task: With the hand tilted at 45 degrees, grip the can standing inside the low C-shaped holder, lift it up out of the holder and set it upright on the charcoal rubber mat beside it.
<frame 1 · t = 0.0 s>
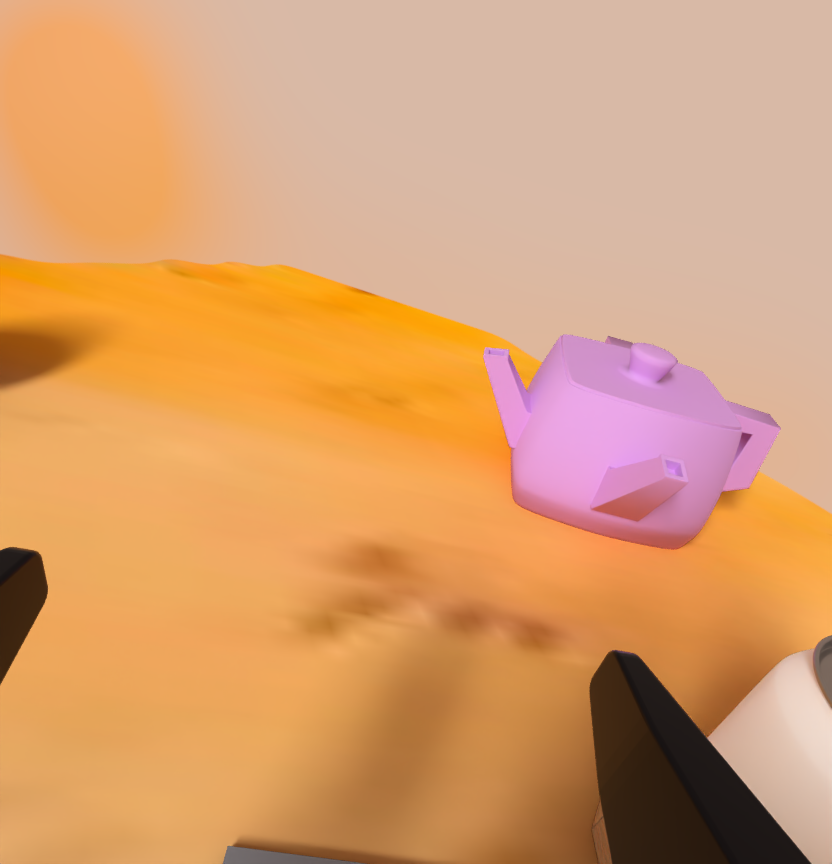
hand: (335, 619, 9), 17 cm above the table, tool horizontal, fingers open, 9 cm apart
teakettle: (583, 491, 44), on the table
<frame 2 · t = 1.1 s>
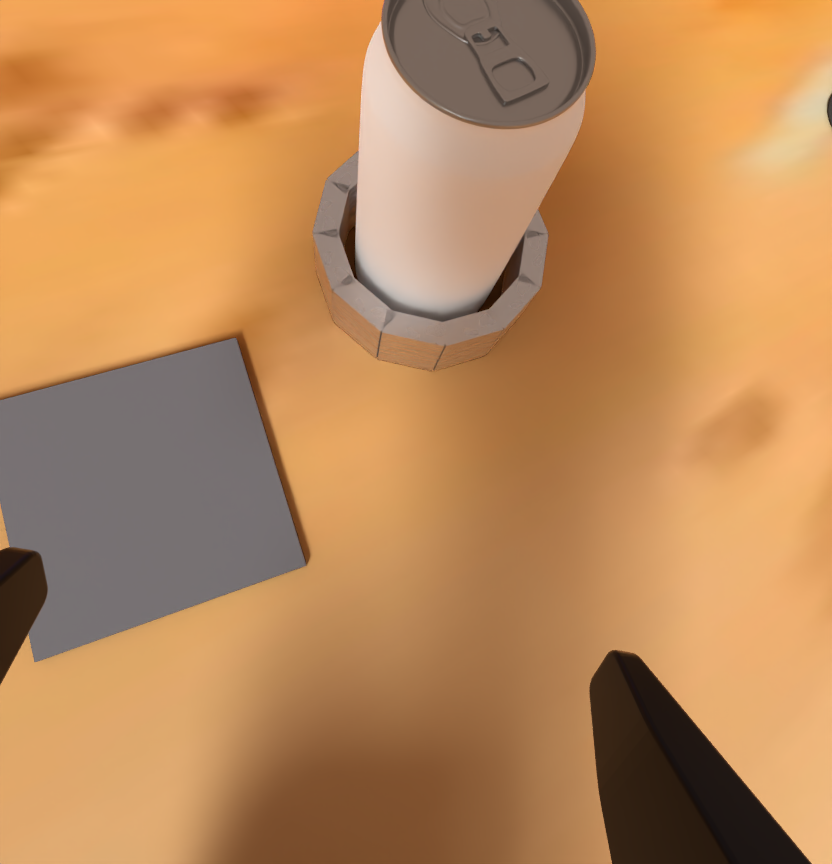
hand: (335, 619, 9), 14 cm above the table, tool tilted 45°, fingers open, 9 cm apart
can: (423, 272, 26), resting in holder
mat: (147, 487, 22), on the table
holder: (423, 270, 25), on the table
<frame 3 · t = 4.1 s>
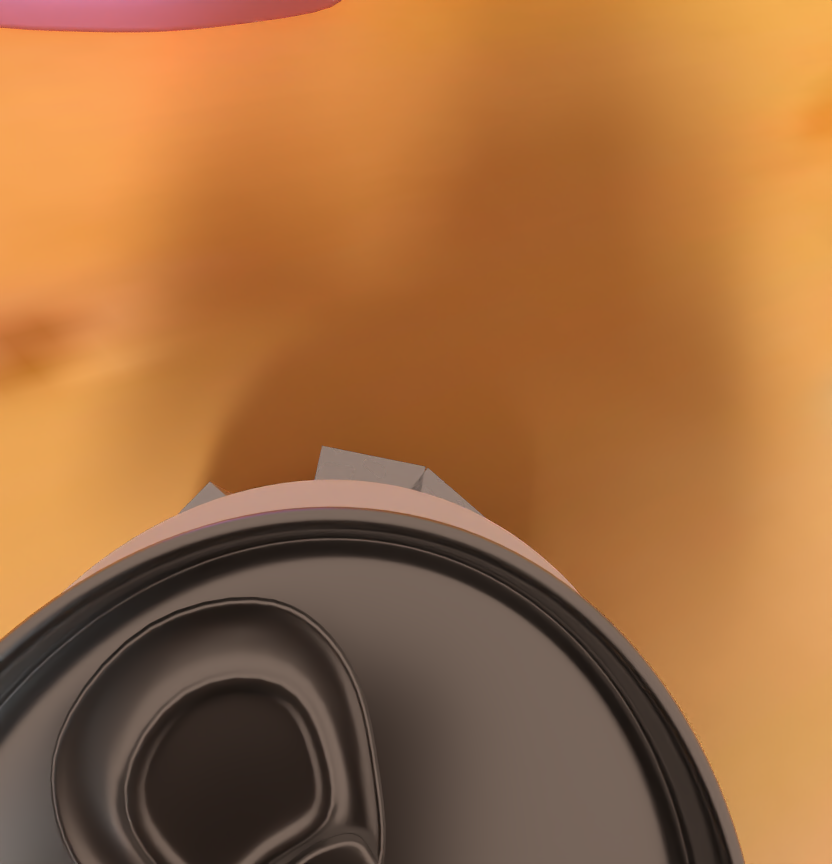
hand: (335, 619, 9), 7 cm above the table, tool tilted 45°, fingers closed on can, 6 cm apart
can: (335, 644, 15), resting in holder, touching gripper
holder: (333, 646, 15), on the table
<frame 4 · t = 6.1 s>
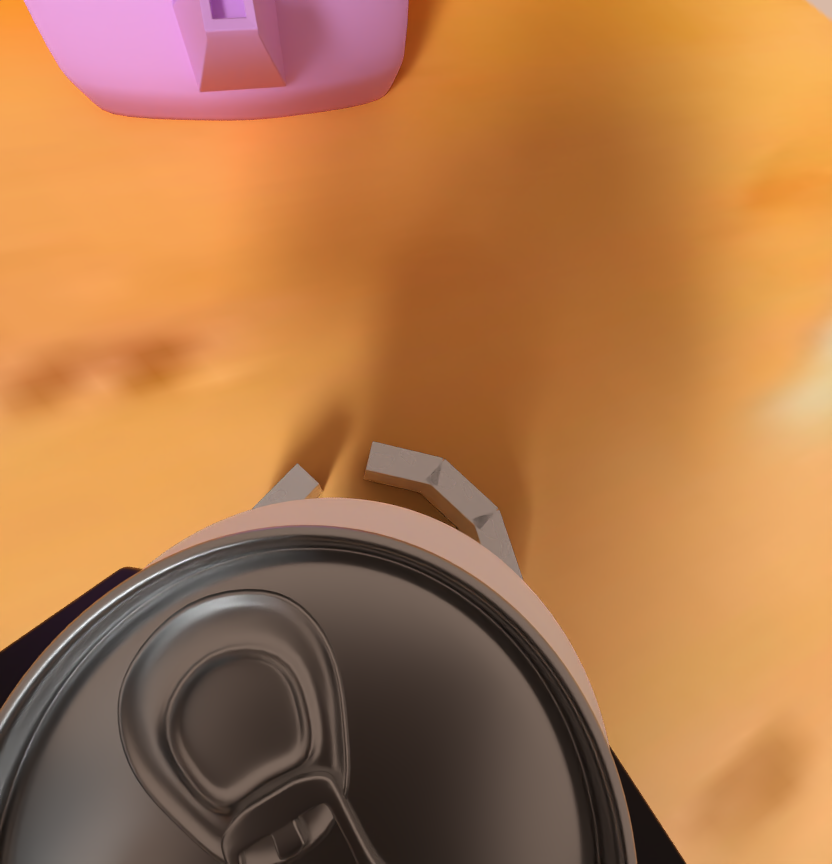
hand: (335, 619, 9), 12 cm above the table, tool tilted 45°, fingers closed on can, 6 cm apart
can: (376, 637, 16), point 4 cm above the table, touching gripper
teakettle: (228, 21, 25), on the table
holder: (372, 584, 21), on the table
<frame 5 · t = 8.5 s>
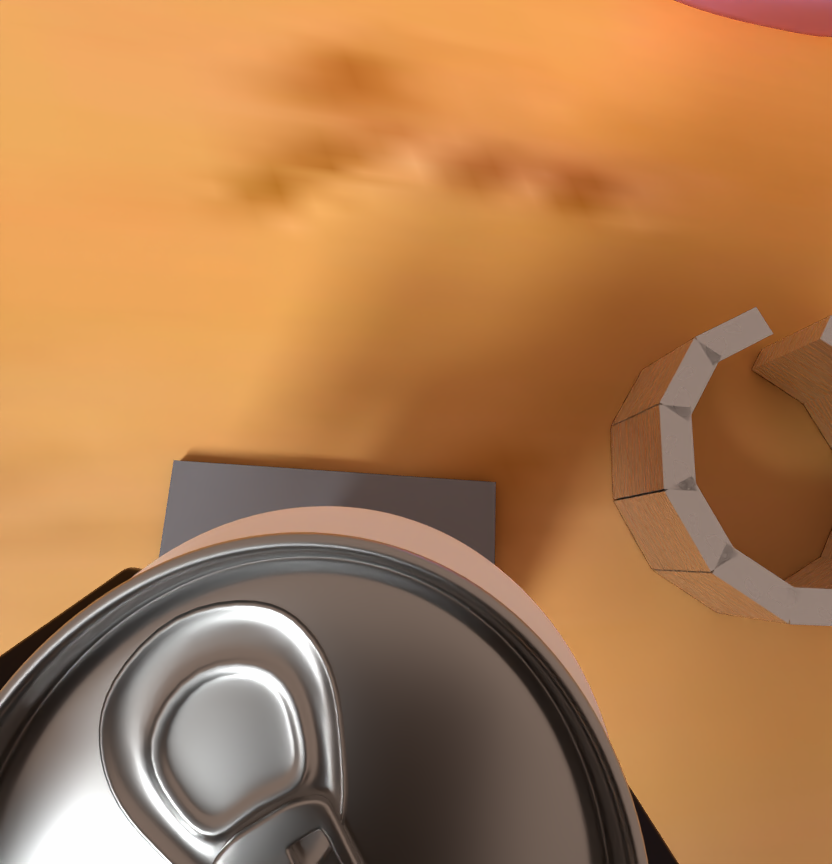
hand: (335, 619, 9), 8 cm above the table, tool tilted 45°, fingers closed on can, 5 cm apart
can: (367, 653, 16), point 1 cm above the table, touching gripper, mat
mat: (327, 638, 16), on the table
holder: (740, 472, 19), on the table
when the fingers open (8 cm above the table, at t = 8.8 s): can stays where it is, resting on mat.
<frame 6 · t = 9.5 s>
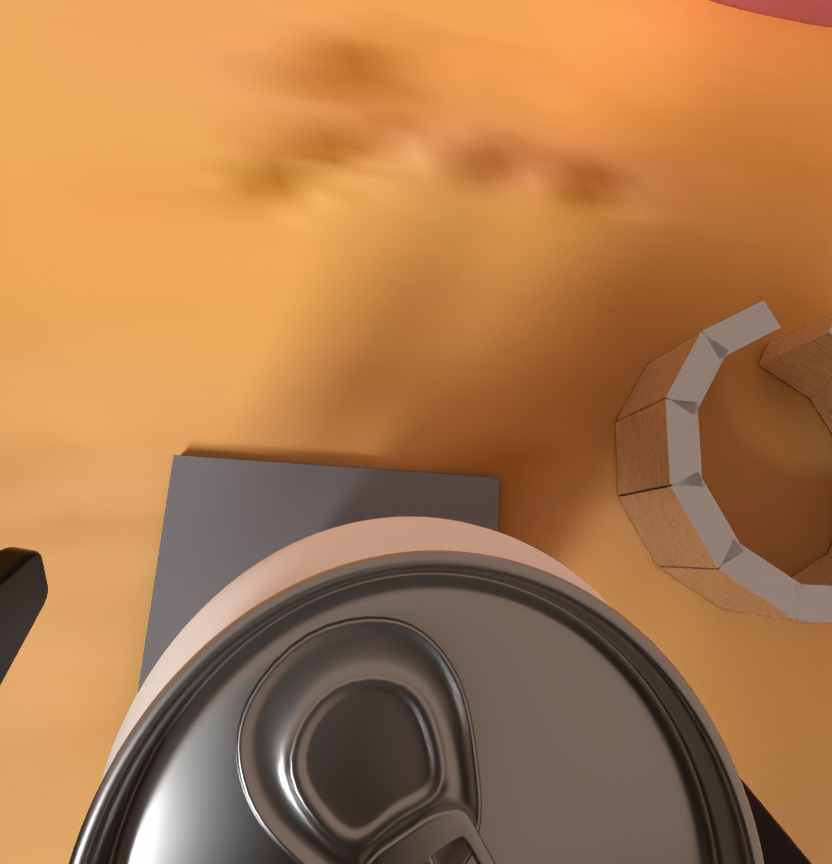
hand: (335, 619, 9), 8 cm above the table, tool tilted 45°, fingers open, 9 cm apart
can: (368, 648, 16), resting on mat
mat: (328, 635, 16), on the table
holder: (746, 468, 19), on the table
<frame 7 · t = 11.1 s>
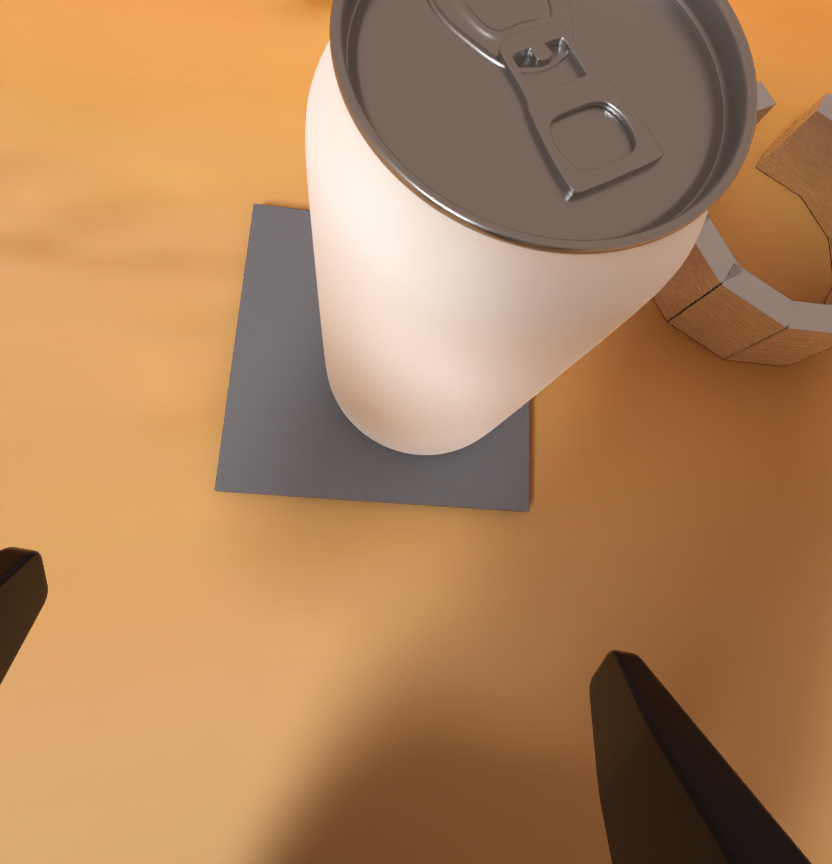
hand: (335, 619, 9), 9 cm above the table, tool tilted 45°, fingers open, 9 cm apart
can: (420, 366, 19), resting on mat
mat: (386, 356, 19), on the table
holder: (745, 249, 22), on the table
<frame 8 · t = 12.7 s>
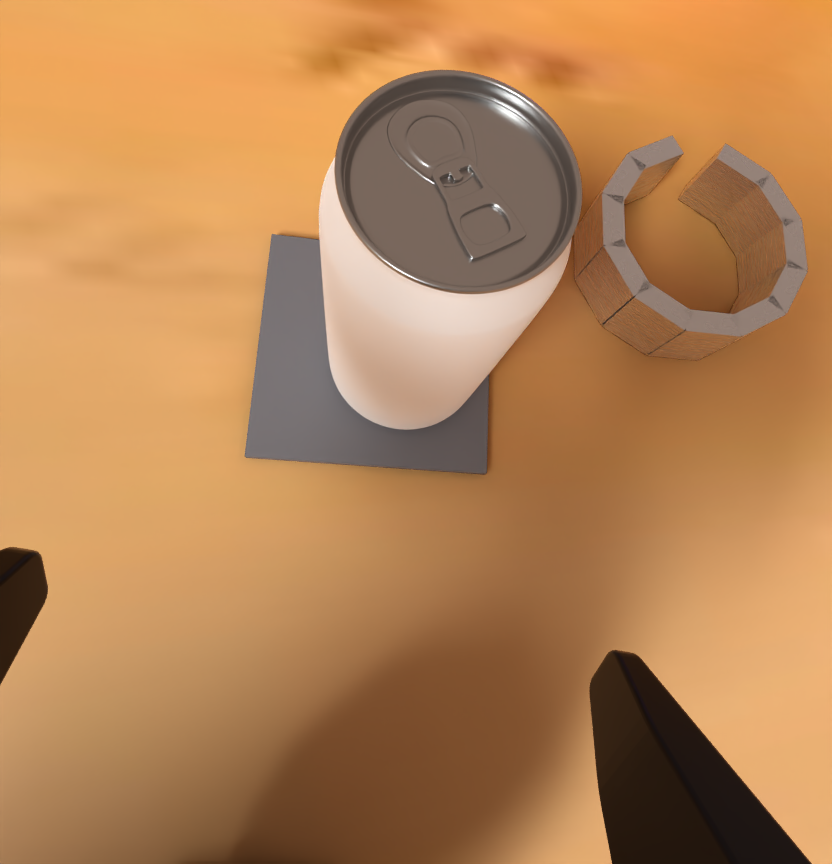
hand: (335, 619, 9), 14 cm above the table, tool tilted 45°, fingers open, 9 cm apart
can: (403, 361, 24), resting on mat
mat: (376, 354, 24), on the table
holder: (666, 266, 27), on the table
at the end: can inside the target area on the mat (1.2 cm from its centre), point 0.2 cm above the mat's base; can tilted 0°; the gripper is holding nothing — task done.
